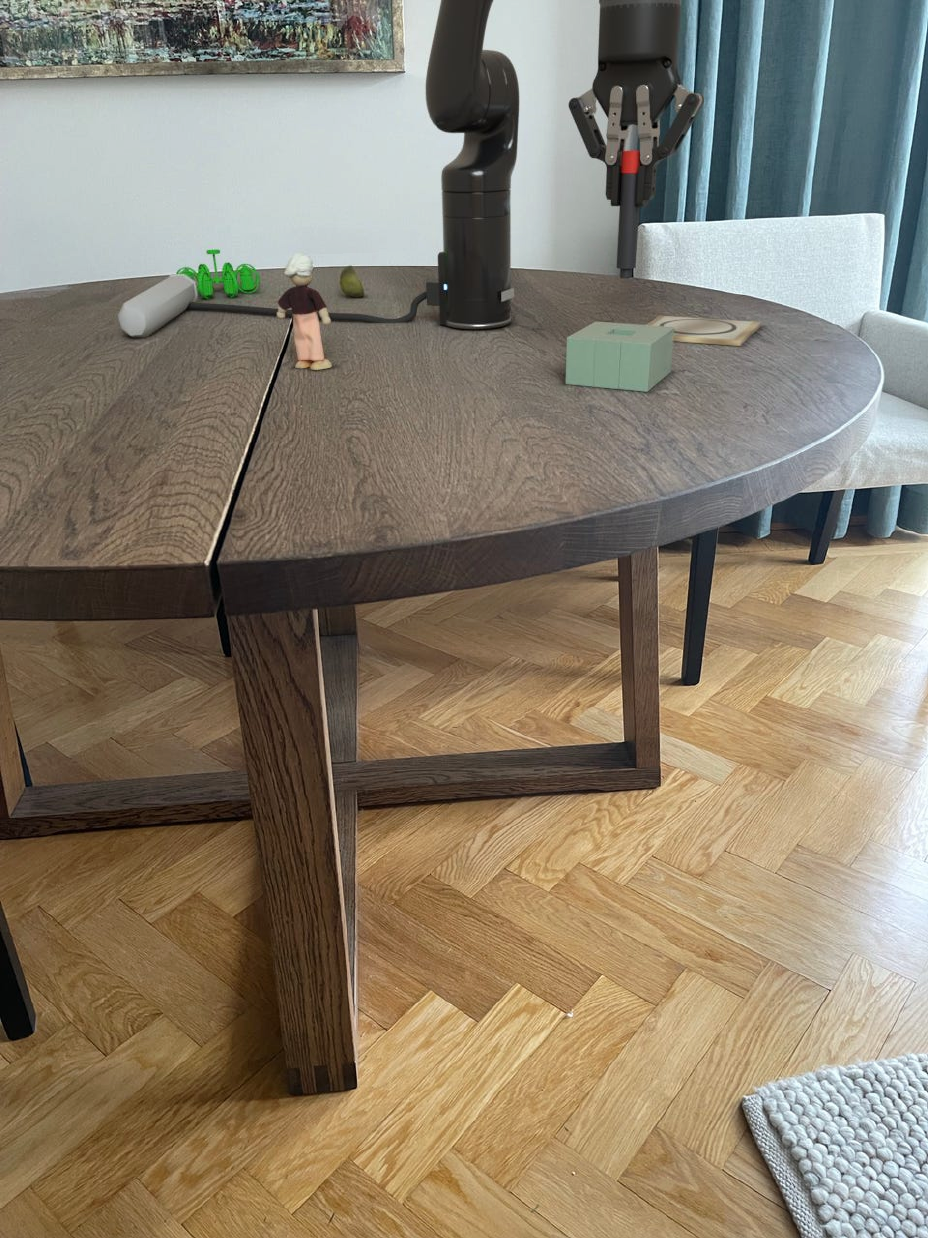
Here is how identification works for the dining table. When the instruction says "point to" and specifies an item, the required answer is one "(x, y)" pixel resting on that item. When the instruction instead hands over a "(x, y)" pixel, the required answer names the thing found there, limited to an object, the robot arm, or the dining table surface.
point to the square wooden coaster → (708, 330)
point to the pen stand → (619, 356)
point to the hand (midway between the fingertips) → (629, 204)
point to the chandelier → (223, 277)
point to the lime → (351, 283)
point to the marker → (628, 214)
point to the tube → (157, 306)
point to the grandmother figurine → (305, 313)
